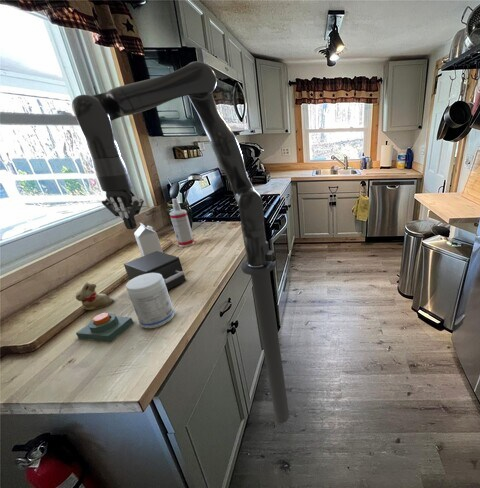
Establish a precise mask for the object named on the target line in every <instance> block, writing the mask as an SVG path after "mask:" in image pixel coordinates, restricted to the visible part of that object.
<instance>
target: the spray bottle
mask: <svg viewBox="0 0 480 488" xmlns="http://www.w3.org/2000/svg"><path fill="white" fill-rule="evenodd" d="M171 201H172V209H173V210H172V211H170V212H169V217H170V221H171V224H172V227H173V231H174V234H175V238H176V242H177V245H178V246H179V248H186V247H190V246H193V245H194V244H195V239H194V235H193V231H192V227H191V223H190V219H189V216H188V211H187V210H186V209H182V208H181V205H180V203H179V201H178V198H172V199H171Z"/></svg>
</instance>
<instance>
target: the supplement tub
mask: <svg viewBox="0 0 480 488" xmlns="http://www.w3.org/2000/svg"><path fill="white" fill-rule="evenodd" d="M125 289H126V292H127V296H128V298H129V300H130V302H131V305H132V308H133V310H134V312H135V315H136V317H137V320H138V322H139V325H140V326H141V327H142V328H145V329H155V328H159V327H161V326H164V325H166V324H167V323H169V322H170V321H171V320H172V319H173V317H174V315H175V310H174V306H173V304H172V301H171V297H170V294H169V292H168V291H169V290H167V288H166V285H165V282H164V279H163V277H162V275H161V274H159V273H148V274H143V275H140V276H137V277H135V278H133V279H131V280H130V279H129V280H128V281H127V283H126V284H125Z"/></svg>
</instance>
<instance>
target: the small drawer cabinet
mask: <svg viewBox="0 0 480 488" xmlns="http://www.w3.org/2000/svg"><path fill="white" fill-rule="evenodd" d="M180 259H181V258H180V256H179V257H178V256H176V255H173V254H169V253H165V252H163V253H162V252H159V251H155V252H153V253H150V254H148V255H145V256H143V257H142V256H141V257H138V258H135V259H132V260H129V261H128V262H125V263H123V267H124V269H125V271H126V274H127V277H128V280H129V281H130V280H131V279H133V278H135V277H137V276H140V275H143V274H148V273H149V272H152V271H154V270H156V269H158V268H161V267H163V266H165V265H167V264H170V263H172V262H174V261H177V260H180ZM180 261H181V260H180ZM186 281H187V280H185V281H183V282H181V283H179V284H177V285H176V286H174V287H177V286H179V285H181V284H183V283H184V282H186ZM174 287H172V288H170V289H168V290H167V291H169V290H171V289H173V288H174Z"/></svg>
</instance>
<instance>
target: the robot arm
mask: <svg viewBox="0 0 480 488" xmlns="http://www.w3.org/2000/svg"><path fill="white" fill-rule="evenodd" d="M217 81H218V80H217V76H216V73H215V71H214V70H213V69H212V67H210V66H209V65H208V64H207V63H205V62H202V61H198V60H197V61H192V62H189V63H187V65H185V66H183V67H181V68H179V69H176V70H175V71H172V72H169V73H167V74H164V75H160V76H157V77H153V78H149V79H144V80H140V81H136V82H135V81H134V82H132V83H128V84H123V85H119V86H116V87H113V88H110V89H109V90H108V91H105V92H101V93H96V94H92V95H91V94H90V95H89V94H79V95H76V96H75V97H74V98H73V100H72V102H71V109H72V112H73V115H74V116H75V119H76V121H77V123H78V125H79V128H80V130H81V132H82V135H83V137H84V142H85V145H86V149H87V151H88V154H89V156H90V158H91V163H92V168H93V171H94V173H95V176H96V178H97V181H98V184H99V187H100V188H101V191H102V192H105V199H104V200H102V201H101V204H102V205H103V206H104V207H105V208H106V209H107V210H108V211H109V212H110V213H112V214H113V215H114V216H115V217H119V218H120V219H122V221H123V224H124V227H125V228H126V230H135V229H137V225H138V224H137V222H136V218H135V216H138V215H139V214H140V212H141V209H142V206H143V205H144V202H145V201H144V200H143V199H142V198H140V199H139V198H137V197H136V195H135V193H134V192H133V190H132V188H133V183H132V181H131V177H130V174H129V171H128V168H127V165H126V162H125V160H124V158H123V156H122V153H121V150H120V147H119V144H118V142H117V138H116V137H115V134H114V129H113V125H112V121H115V120H117V119H121V118H123V117H127V116H131V115H136V114H138V113H139V114H140V113H142V112H146V111H148V110H151V109H154V108H156V107H158V106H161V105H163V104H166V103H168V102H171V101H173V100H176V99H178V98H181V97H186V96H187V97H188V99H189V101H190V102H191V104H192V106H193V108H194V110H195V112H196V113H197V116H198V117H199V120H200V122H201V126H202V128H203V130H204V133H205V135H206V137H207V139H208V141H209V144H210V147H211V150H212V152H213V153H214V155H215V158H216V159H217V161H218V163H219V165H220V167H221V169H222V170H223V173H224V174H225V175H226V177H227V180H228V181H229V184H230V186H231V189H232V192H233V195H234V198H235V202H236V205H237V206H238V210H239V211H238V212H239V216H240V227H241V233H242V238H243V239H242V240H243V245H244V252H245V257H246V260H247V264H248V267H250V268H262V267H267V265H268V264H269V262H270V261H272V262H274V261H276V260H277V256H276V253H275V250H271V249H270V245H269V241H267V237H266V236H267V235H266V228H265V213H264V203H263V199H262V196H261V194H259V193H258V192H257V191H256V190H255V188H254V186H253V184H252V182H251V180H250V178H249V176H248V173H247V170H246V166H245V160H244V157H243V154H242V150H241V147H240V144H239V141H238V140H237V137H236V135H235V133H234V131H233V130H232V128H231V127H230V125H229V124H228V122H227V121H226V120H225V118H224V117H223V116H222V114H221V112H220V110H219V108H218V106H217V103H216V101H215V98H214V95H213V92H214V91H215V89H216V87H217Z"/></svg>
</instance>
